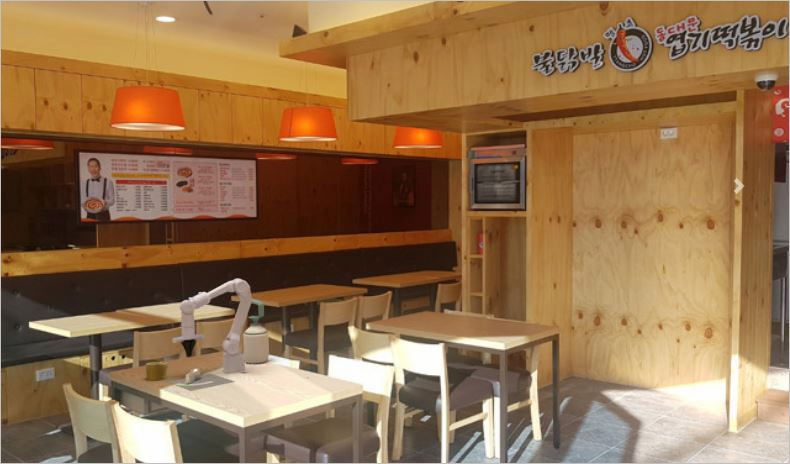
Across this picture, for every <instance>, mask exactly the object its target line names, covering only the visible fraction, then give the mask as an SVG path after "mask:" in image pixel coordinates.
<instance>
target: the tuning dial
mask: <svg viewBox="0 0 790 464" xmlns="http://www.w3.org/2000/svg"><path fill="white" fill-rule="evenodd" d="M201 369H202V368H200V367H193V368H190V372H188V373H186V374H185V378H186V382H185V384H187V383H191V382H193V381H194V380H199V379H201V375H202V371H201Z"/></svg>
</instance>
